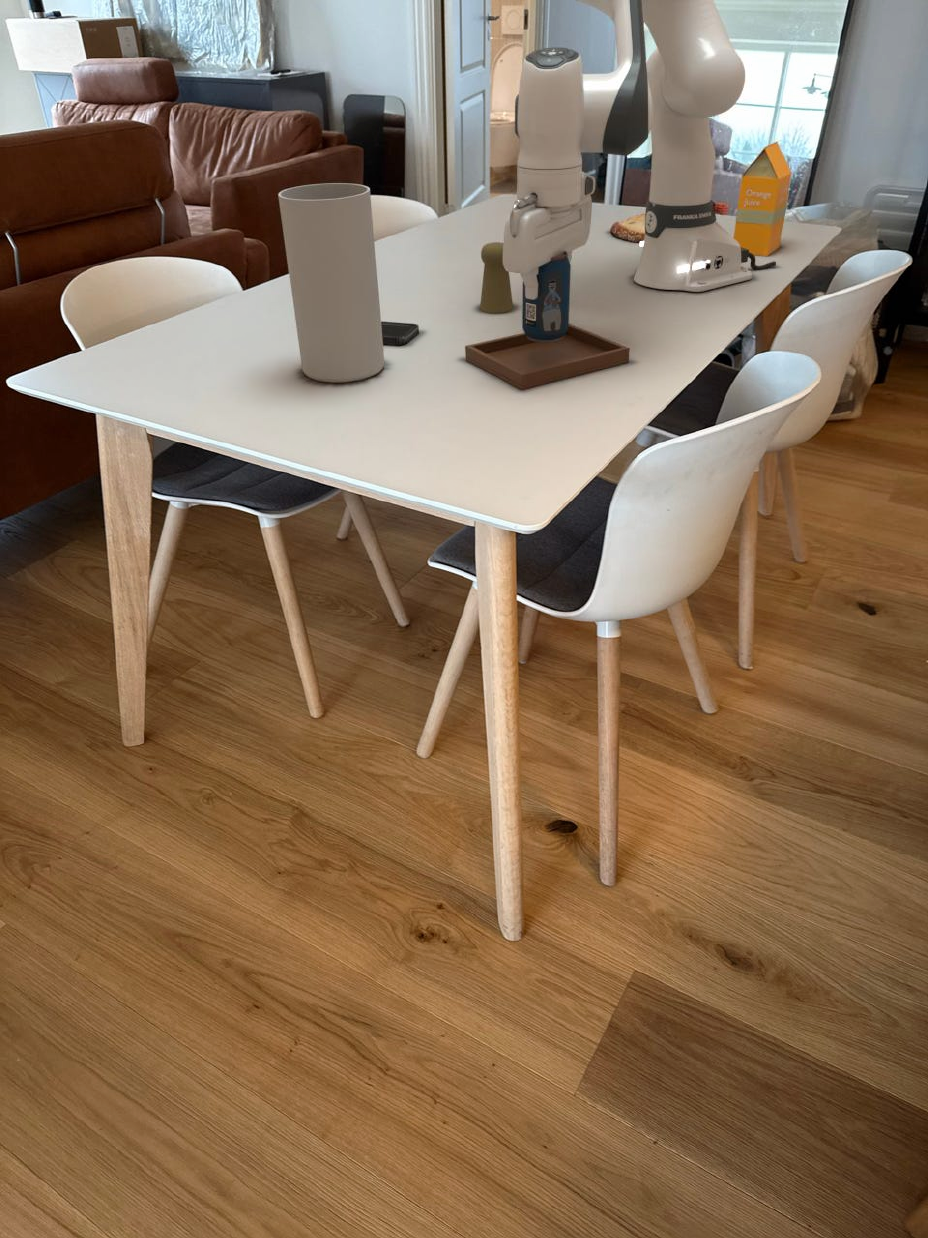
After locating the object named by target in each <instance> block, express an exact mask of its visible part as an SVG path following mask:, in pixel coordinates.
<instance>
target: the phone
mask: <svg viewBox="0 0 928 1238" xmlns="http://www.w3.org/2000/svg"><path fill="white" fill-rule="evenodd" d="M381 328H382V340H383V345H392V346H402V345H406V344H407V343H408V342H410V341H411V340H412V339H413V338H415V337H416V336H417V335H418V334H419V333H420V327H419V324H417V323H407V322H395V321H382V320H381Z"/></svg>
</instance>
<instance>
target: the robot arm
mask: <svg viewBox="0 0 928 1238" xmlns="http://www.w3.org/2000/svg"><path fill="white" fill-rule="evenodd" d="M575 1H577V2H579V3H583V4H585V5H588V6H590V7H593V8H595V9H596V10H598V11H600V12H602V13H604V14H605V15H606V16H608V17H609V18H610V19H611V21H612V23H613V24H614V30H615V31H614V33H615V34H614V35H615V45H616V60H617V61H616V62H617V68H616V69H615V70H614V71H611V72H608V73H584V72H583V61H582V56H581V54H580V53H579V52H577V51H576V50H574V49H570V48H567V47H560V46H559V47H558V46H555V47H545V48H541V49H535V50H533V51H531V52H530V53H528V54H527V55H526V56H525V57H524V58H523V61H522V66H521V73H520V80H519V89H518V94H517V95H516V97H515V101H514V133H515V135H516V136H517V138H518V139H519V153H518V156H517V163H516V200H515V201H514V204H513V206H512V208H511V210H510V212H509V214H508V215H507V217H506V219H505V224H504V232H503V242H502V243H503V265H504V268H505V270H506V271H508V272H509V273H515V274H520V277H521V280H522V283H523V282H524V285H525V297H526V298H527V299H533V300H534V299H536V298H538V297H540V295H541V292H540V291H541V285H539V284H538V281H537V277H536V275H538V267H540V266H542V265H544V264H546V263H548V262H550V260H551V258H554V257H558V256H561V255H562V254H564V253H565V251H566V252H567V258H568V260H569V262H570V263H571V261H572V259H573V251H574V250H577V249H579V248H581V247H584V246H585V245H587V242H588V239H589V236H590V232H591V224H592V223H591V222H592V212H593V211H592V210H593V199H592V195H593V194H594V193H595V190H596V178H595V177H594V176H592V175H591V174H588V173H586V172H585V171H583V158H582V153H599V154H601V153H603V154H605V155H613V156H614V155H615V156H623V157H627V156H629V155H631V154H633V153H634V152H635V151H636V150H637V149H639V148H640V147H641V146H642V145H643V144H644V143H645V142H647V140H648V139H649V135H650V138H651V165H650V166H651V168H650V180H649V181H650V183H649V193H648V194H649V195H648V199H647V201H646V203H645V212H644V214H645V238H644V241H640V242H639V247H642V249H641V252H640V253H641V254H640V258H639V262H638V265H637V269H636V272H635V275H634V276H633V281H634V282H635V283H636V284H638V285H641V286H643V287H647V288H652V289H657V290H665V291H666V290H667V291H669V290H670V291H685V292H690V293H691V292H693V293H702V292H705V291H710V290H714V289H717V288H721V287H726V286H729V285H733V284H737V283H742V282H745V281H749V280H752V278H753V273H752V271H751V270H749V269H748V268H746V267H744V266H742V264H743V263H744V264H745V263H748V261H749V260H750V268H751V269H753V270H754V271H761V270H767V269H769V268H772V267H776V266H777V262H776V261H774V260H773V261H770V262H767V263H765V264H762V265H757V264H756V257H755V256H756V255H753V254H752V253H750V252H749V250H748V249H745V248H742V247H740V245H739V243H738V242H737V241H736V240H735V239H734V236H732V235H731V234H730V232H728V231H727V230H725V228H724V227H722V226H721V225H720V224H719V223H718V221H717V216H716V214H717V215H720V216H726V215H727V213H728V212H729V210H730V208H729V207H730V206H729V204H728V203H725V202H722V201H718V202H717V203H716V202H714V200H712V192H713V191H712V190H713V180H714V175H715V174H714V173H715V165H716V149H715V147H714V143H713V139H712V135H711V126H710V118H713V117H717V116H720V115H722V114H724V113H727V112H728V111H729V110H730V109H732V108H733V107H734V106H735V105H736V103H738V101H739V99H740V97H741V96H742V93H743V90H744V88H745V83H746V69H745V66H744V62H743V59H742V58H741V57H740V55H739V54H738V53H737V51H736V50H735V49H734V47H733V45H732V43H731V41H730V39H729V36H728V33H727V30H726V28H725V26H724V22H723V21H722V18H721V15H720V13H719V11H718V8H717V6H716V3H715V1H714V0H575ZM645 26H646V27H647V29H648V32H649V33H650V34H651V37H652V39H653V41H654V44H655V46H656V49H655V50H653V52H652V53H650V55H649V57H648V59H647V50H646V48H647V47H646V36H645V33H646V32H645Z"/></svg>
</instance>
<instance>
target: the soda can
mask: <svg viewBox="0 0 928 1238" xmlns="http://www.w3.org/2000/svg"><path fill="white" fill-rule="evenodd" d="M571 265H572V264H571V262H569V260H568V258H567V252H566V251H565V253H564V254H562V255H561V256H558V257H554V258H551V260H550V262H548V263H546V264H544V265H542V266H540V267H538V275H536V277H537V281H538V284H539V285H541V291H540V292H541V295H540V297H538V298H536V299H534V300H533V299H527V298H526V297H525V285H524V282H523V281H522V308H521V309H522V313H521V314H522V315H521V317H522V318H521V319H522V320H521V321H522V323H521V330H522V331H523V333H525V335H526V336H527V338H528V339H530V340H532V341H536V342H554V341H558V340H560V339H562V338H563V337H564V335H565V334H566V332H567V330H568V328H569V324H570V299H571V297H570V295H571V269H572V266H571Z"/></svg>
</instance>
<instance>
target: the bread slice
mask: <svg viewBox="0 0 928 1238" xmlns="http://www.w3.org/2000/svg"><path fill="white" fill-rule="evenodd" d="M609 232H610V233H611V234H613V235H614V236H615V237H616V238H617V239H620V240H621V239H622V240H623V241H624V240H625V241H629V242H633V243H640V241H644V238H645V213H640V214H639V215H638V214H637V215H635V216H632V217H629V218H626V219H625V220H623V221H615V222H614V223H613V224H612V225H611V227H610V229H609Z"/></svg>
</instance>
